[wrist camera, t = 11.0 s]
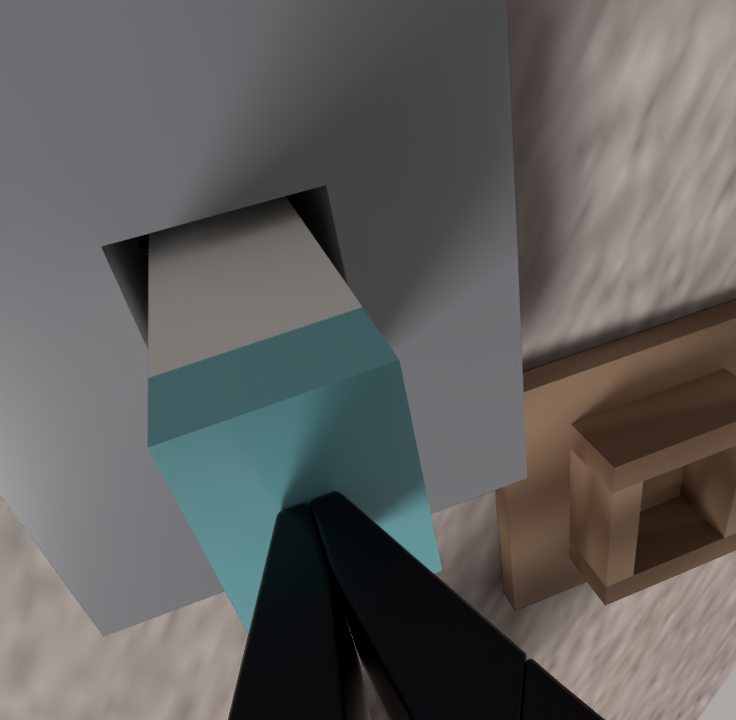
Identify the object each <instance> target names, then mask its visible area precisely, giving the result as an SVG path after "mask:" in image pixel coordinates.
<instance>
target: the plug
mask: <svg viewBox="0 0 736 720" xmlns="http://www.w3.org/2000/svg"><path fill="white" fill-rule="evenodd" d="M147 448H148V450H149V451H150V453H151V455H152V457H153V459H154V461H155V463H156V464H157V466H158V468H159V470H160V472H161V474H162V475H163V477H164V479H165V481H166V483H167V485H168V487H169V488H170V490H171V492H172V494H173V496H174V498H175V500H176V501H177V503H178V505H179V507H180V509H181V511H182V512H183V514H184V516H185V518H186V520H187V522H188V524H189V525H190V527H191V529H192V531H193V533H194V535H195V536H196V538H197V540H198V542H199V544H200V546H201V548H202V549H203V551H204V553H205V555H206V557H207V559H208V561H209V562H210V564H211V566H212V568H213V570H214V572H215V573H216V575H217V577H218V579H219V581H220V583H221V585H222V586H223V588H224V590H225V592H226V594H227V596H228V598H229V599H230V601H231V603H232V605H233V607H234V609H235V610H236V612H237V614H238V616H239V618H240V620H241V622H242V623H243V625H244V627H245V629H246V631H247V633H249V629H250V625H251V621H252V617H253V612H254V608H255V604H256V600H257V596H258V591H259V587H260V583H261V579H262V575H263V570H264V566H265V562H266V558H267V553H268V549H269V545H270V541H271V537H272V532H273V528H274V524H275V520H276V516H277V514H278V513H279V512H280V511H281V510H283V509H286V508H289V507H292V506H294V505H297V504H300V503H303V502H305V503H307V504H308V505H309V506H310V501H311V500H312V499H314V498H317V497H319V496H322V495H325V494H328V493H331V492H333V491H338V492H340V493H342V494H343V495H344V496H345V497H347V498H348V499H349V500H350V501H351V502H352V503H353V504H355V505H356V506H357V507H358V508H359V509H360V510H361V511H363V512H364V513H365V514H366V515H367V516H368V517H370V518H371V519H372V520H373V521H374V522H375V523H376V524H378V525H379V526H380V527H381V528H382V529H383V530H384V531H386V532H387V533H388V534H389V535H390V536H391V537H393V538H394V539H395V540H396V541H397V542H398V543H399V544H401V545H402V546H403V547H404V548H405V549H406V550H407V551H409V552H410V553H411V554H412V555H413V556H414V557H415V558H417V559H418V560H419V561H420V562H421V563H422V564H424V565H425V566H426V567H427V568H428V569H429V570H430V571H432V572H433V573H434V574H435V573H437V572H440V571H442V566H441V561H440V556H439V552H438V547H437V542H436V537H435V532H434V527H433V522H432V517H431V512H430V507H429V503H428V498H427V493H426V488H425V483H424V478H423V473H422V468H421V463H420V458H419V453H418V449H417V444H416V439H415V434H414V429H413V424H412V419H411V414H410V409H409V404H408V400H407V395H406V390H405V385H404V380H403V375H402V370H401V365H400V360H399V359H398V357H397V356H396V354H395V353H394V351H393V350H392V349H391V347H390V346H389V344H388V343H387V341H386V340H385V339H384V337H383V336H382V334H381V333H380V331H379V330H378V329H377V327H376V326H375V324H374V323H373V321H372V320H371V318H370V317H369V316H368V314H367V313H366V311H365V310H364V308H363V307H362V306H361V304H360V303H359V301H358V300H357V298H356V297H355V296H354V294H353V293H352V291H351V290H350V288H349V287H348V285H347V284H346V283H345V281H344V280H343V278H342V277H341V275H340V274H339V273H338V271H337V270H336V268H335V267H334V265H333V264H332V263H331V261H330V260H329V258H328V257H327V255H326V254H325V252H324V251H323V250H322V248H321V247H320V245H319V244H318V242H317V241H316V240H315V238H314V237H313V235H312V234H311V232H310V231H309V230H308V228H307V227H306V225H305V224H304V222H303V221H302V219H301V218H300V217H299V215H298V214H297V212H296V211H295V209H294V208H293V207H292V205H291V204H290V202H289V201H288V199H287V198H286V196H284V197H280V198H277V199H273V200H269V201H266V202H262V203H258V204H255V205H251V206H247V207H244V208H240V209H237V210H233V211H229V212H226V213H222V214H218V215H215V216H211V217H207V218H204V219H200V220H196V221H193V222H189V223H185V224H182V225H178V226H174V227H171V228H167V229H163V230H160V231H156V232H152V233H149V276H148V444H147ZM310 509H311V508H310ZM311 512H312V511H311Z"/></svg>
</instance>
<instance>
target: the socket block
mask: <svg viewBox="0 0 736 720" xmlns="http://www.w3.org/2000/svg"><path fill="white" fill-rule="evenodd" d="M295 193H296V195H297V199H298V203H299V207H300V211H301V215H302V220H303V222H304V224H305V225H306V227H307V228H308V230H309V231H310V232H311V234H312V235H313V237H314V238H315V240H316V241H317V242H318V244H319V245H320V247H321V248H322V250H323V251H324V252H325V254H326V255H327V257H328V258H329V260H330V261H331V263H332V264H333V265H334V267H335V268H336V270H337V271H338V273H339V274H340V275H341V277H342V278H343V280H344V281H345V283H346V284H347V285H348V287H349V288H350V290H351V291H352V293H353V294H354V296H355V297H356V298H357V300H358V301H359V303H360V304H361V306H362V307H363V308H364V310H365V311H366V313H367V314H368V316H369V317H370V318H371V320H372V321H373V323H374V324H375V326H376V327H377V329H378V330H379V331H380V333H381V334H382V336H383V337H384V339H385V340H386V341H387V343H388V344H389V346H390V347H391V349H392V350H393V351H394V353H395V354H396V356H397V357H398V359H399V360H400V365H401V370H402V375H403V380H404V385H405V390H406V395H407V400H408V404H409V409H410V414H411V419H412V424H413V429H414V434H415V439H416V444H417V449H418V453H419V458H420V463H421V468H422V473H423V478H424V483H425V488H426V493H427V498H428V503H429V507H430V512H431V514H432V513H435V512H437V511H440V510H443V509H445V508H448V507H451V506H453V505H456V504H459V503H461V502H464V501H467V500H469V499H472V498H475V497H477V496H480V495H483V494H485V493H488V492H491V491H493V490H496V489H499V488H501V487H504V486H507V485H509V484H512V483H515V482H517V481H520V480H523V479H525V478H527V463H526V439H525V415H524V391H523V368H522V344H521V320H520V296H519V272H518V249H517V225H516V201H515V177H514V154H513V130H512V106H511V82H510V58H509V35H508V11H507V0H0V495H1V497H2V498H3V500H4V501H5V502H6V504H7V505H8V506H9V508H10V509H11V511H12V512H13V513H14V515H15V516H16V517H17V519H18V520H19V521H20V523H21V524H22V526H23V527H24V528H25V530H26V531H27V532H28V534H29V535H30V537H31V538H32V539H33V541H34V542H35V543H36V545H37V546H38V547H39V549H40V550H41V552H42V553H43V554H44V556H45V557H46V558H47V560H48V561H49V563H50V564H51V565H52V567H53V568H54V569H55V571H56V572H57V573H58V575H59V576H60V578H61V579H62V580H63V582H64V583H65V584H66V586H67V587H68V589H69V590H70V591H71V593H72V594H73V595H74V597H75V598H76V600H77V601H78V602H79V604H80V605H81V606H82V608H83V609H84V610H85V612H86V613H87V615H88V616H89V617H90V619H91V620H92V621H93V623H94V624H95V626H96V627H97V628H98V630H99V631H100V632H101V634H102V635H103V636H107V635H109V634H112V633H115V632H117V631H120V630H123V629H125V628H128V627H131V626H133V625H136V624H139V623H141V622H144V621H147V620H149V619H152V618H155V617H157V616H160V615H163V614H165V613H168V612H171V611H173V610H176V609H179V608H181V607H184V606H187V605H189V604H192V603H195V602H197V601H200V600H203V599H205V598H208V597H211V596H213V595H216V594H219V593H221V592H224V591H225V590H224V588H223V586H222V585H221V583H220V581H219V579H218V577H217V575H216V573H215V572H214V570H213V568H212V566H211V564H210V562H209V561H208V559H207V557H206V555H205V553H204V551H203V549H202V548H201V546H200V544H199V542H198V540H197V538H196V536H195V535H194V533H193V531H192V529H191V527H190V525H189V524H188V522H187V520H186V518H185V516H184V514H183V512H182V511H181V509H180V507H179V505H178V503H177V501H176V500H175V498H174V496H173V494H172V492H171V490H170V488H169V487H168V485H167V483H166V481H165V479H164V477H163V475H162V474H161V472H160V470H159V468H158V466H157V464H156V463H155V461H154V459H153V457H152V455H151V453H150V451H149V450H148V448H147V444H148V276H149V268H148V266H147V263H146V261H145V258H144V256H143V253H142V251H141V249H140V246H139V244H138V241H137V239H136V237H138V236H142V235H145V234H149V233H152V232H156V231H160V230H163V229H167V228H171V227H174V226H178V225H182V224H185V223H189V222H193V221H196V220H200V219H204V218H207V217H211V216H215V215H218V214H222V213H226V212H229V211H233V210H237V209H240V208H244V207H247V206H251V205H255V204H258V203H262V202H266V201H269V200H273V199H277V198H280V197H284V196H288V195H291V194H295Z"/></svg>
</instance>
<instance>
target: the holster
mask: <svg viewBox="0 0 736 720" xmlns="http://www.w3.org/2000/svg"><path fill="white" fill-rule="evenodd" d="M523 391H524V415H525V439H526V463H527V478H525V479H523V480H520V481H517V482H515V483H512V484H509V485H507V486H504V487H501V488H499V489H496V502H497V513H498V525H499V537H500V549H501V561H502V573H503V585H504V594H505V595H506V597H507V599H508V600H509V602H510V604H511V605H512V607H513V609H514V610H515V611H517V610H519V609H522V608H524V607H526V606H529V605H531V604H534V603H536V602H539V601H541V600H543V599H546V598H548V597H551V596H553V595H556V594H558V593H560V592H563V591H565V590H568V589H570V588H573V587H575V586H577V585H580V584H582V583H585V582H588V584H589V585H590V586H591V588H592V589H593V590H594V591H595V593H596V594H597V595H598V597H599V598H600V599H601V601H602V602H603V603H604V605H607V604H610V603H612V602H615V601H617V600H619V599H622V598H624V597H626V596H629V595H631V594H633V593H636V592H638V591H641V590H643V589H645V588H648V587H650V586H652V585H655V584H657V583H660V582H662V581H664V580H667V579H669V578H671V577H674V576H676V575H679V574H681V573H683V572H686V571H688V570H690V569H693V568H695V567H697V566H700V565H702V564H705V563H707V562H709V561H712V560H714V559H716V558H719V557H721V556H724V555H726V554H728V553H731V552H733V551H735V550H736V299H735V300H732V301H729V302H726V303H723V304H721V305H718V306H715V307H712V308H709V309H706V310H703V311H700V312H697V313H694V314H691V315H689V316H686V317H683V318H680V319H677V320H674V321H671V322H668V323H665V324H662V325H659V326H657V327H654V328H651V329H648V330H645V331H642V332H639V333H636V334H633V335H630V336H627V337H625V338H622V339H619V340H616V341H613V342H610V343H607V344H604V345H601V346H598V347H595V348H593V349H590V350H587V351H584V352H581V353H578V354H575V355H572V356H569V357H566V358H564V359H561V360H558V361H555V362H552V363H549V364H546V365H543V366H540V367H537V368H534V369H532V370H529V371H526V372H523Z"/></svg>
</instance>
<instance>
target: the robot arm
mask: <svg viewBox="0 0 736 720" xmlns="http://www.w3.org/2000/svg"><path fill="white" fill-rule="evenodd" d="M310 508H311V509H310ZM311 511H312V512H311ZM345 616H346V617H345ZM346 619H347V620H346ZM347 622H348V623H347ZM348 625H349V626H348ZM349 628H350V629H349ZM350 631H351V632H350ZM351 634H352V635H351ZM352 637H353V638H352ZM353 640H354V641H353ZM354 643H355V645H354ZM355 646H356V648H355ZM356 649H357V651H356ZM357 652H358V655H359V657H360V660H361V663H362V665H363V668H364V670H365V672H366V675H367V677H368V679H369V682H370V684H371V686H372V688H373V690H374V692H375V695H376V697H377V699H378V701H379V703H380V705H381V708H382V710H383V712H384V714H385V716H386V718H387V720H605V719H604V718H602V717H601V716H600V715H599V714H597V713H596V712H595V711H594V710H593V709H591V708H590V707H589V706H588V705H586V704H585V703H584V702H583V701H582V700H580V699H579V698H578V697H577V696H575V695H574V694H573V693H572V692H571V691H569V690H568V689H567V688H566V687H564V686H563V685H562V684H561V683H560V682H558V681H557V680H556V679H555V678H554V677H553V676H552V675H550V674H549V673H548V672H547V671H546V670H545V669H544V668H542V667H541V666H540V665H539V664H538V663H537V662H536V661H534V660H533V659H528V660H527V655H526V653H525V652H524V651H522V650H521V649H520V648H519V647H518V646H517V645H515V644H514V643H513V642H512V641H511V640H510V639H509V638H507V637H506V636H505V635H504V634H503V633H502V632H501V631H499V630H498V629H497V628H496V627H495V626H494V625H492V624H491V623H490V622H489V621H488V620H487V619H486V618H484V617H483V616H482V615H481V614H480V613H479V612H478V611H476V610H475V609H474V608H473V607H472V606H471V605H470V604H468V603H467V602H466V601H465V600H464V599H463V598H461V597H460V596H459V595H458V594H457V593H456V592H455V591H453V590H452V589H451V588H450V587H449V586H448V585H447V584H445V583H444V582H443V581H442V580H441V579H440V578H438V577H437V576H436V575H435V574H434V573H433V572H432V571H430V570H429V569H428V568H427V567H426V566H425V565H424V564H422V563H421V562H420V561H419V560H418V559H417V558H415V557H414V556H413V555H412V554H411V553H410V552H409V551H407V550H406V549H405V548H404V547H403V546H402V545H401V544H399V543H398V542H397V541H396V540H395V539H394V538H393V537H391V536H390V535H389V534H388V533H387V532H386V531H384V530H383V529H382V528H381V527H380V526H379V525H378V524H376V523H375V522H374V521H373V520H372V519H371V518H370V517H368V516H367V515H366V514H365V513H364V512H363V511H361V510H360V509H359V508H358V507H357V506H356V505H355V504H353V503H352V502H351V501H350V500H349V499H348V498H347V497H345V496H344V495H343V494H342V493H340V492H338V491H333V492H331V493H328V494H325V495H322V496H319V497H317V498H314V499H312V500H311V501H310V506H309V505H308V504H307V503H305V502H303V503H300V504H297V505H294V506H292V507H289V508H286V509H283V510H281V511H280V512H279V513H278V514H277V516H276V520H275V524H274V528H273V532H272V537H271V541H270V545H269V549H268V553H267V558H266V562H265V566H264V570H263V575H262V579H261V583H260V587H259V591H258V596H257V600H256V604H255V608H254V612H253V617H252V621H251V625H250V629H249V633H248V638H247V642H246V646H245V650H244V654H243V659H242V663H241V667H240V671H239V675H238V680H237V684H236V688H235V692H234V696H233V701H232V705H231V709H230V713H229V718H228V720H371V715H370V710H369V704H368V699H367V694H366V689H365V684H364V679H363V675H362V670H361V666H360V662H359V658H358V655H357Z"/></svg>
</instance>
